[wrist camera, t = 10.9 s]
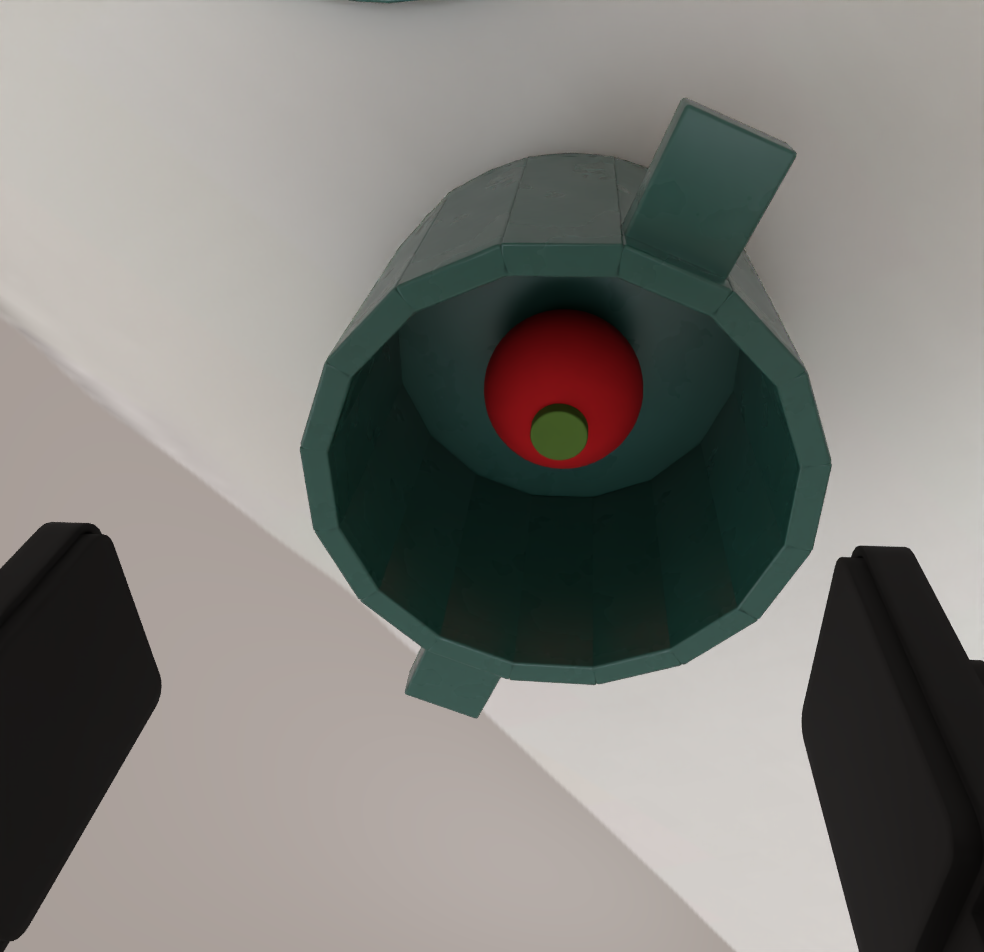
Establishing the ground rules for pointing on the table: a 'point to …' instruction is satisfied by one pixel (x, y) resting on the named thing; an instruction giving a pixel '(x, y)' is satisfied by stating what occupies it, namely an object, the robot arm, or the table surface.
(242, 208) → the table surface
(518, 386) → the berry
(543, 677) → the pot
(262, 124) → the table surface
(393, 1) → the lid
